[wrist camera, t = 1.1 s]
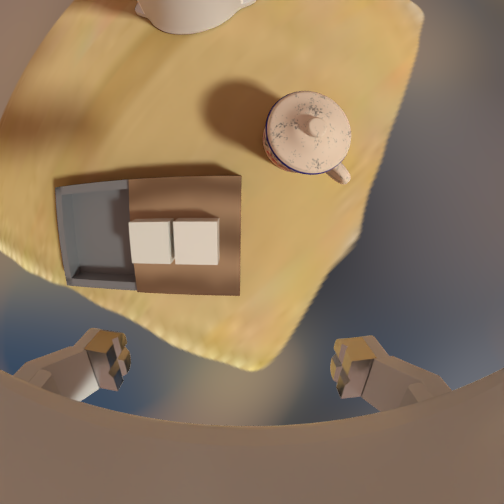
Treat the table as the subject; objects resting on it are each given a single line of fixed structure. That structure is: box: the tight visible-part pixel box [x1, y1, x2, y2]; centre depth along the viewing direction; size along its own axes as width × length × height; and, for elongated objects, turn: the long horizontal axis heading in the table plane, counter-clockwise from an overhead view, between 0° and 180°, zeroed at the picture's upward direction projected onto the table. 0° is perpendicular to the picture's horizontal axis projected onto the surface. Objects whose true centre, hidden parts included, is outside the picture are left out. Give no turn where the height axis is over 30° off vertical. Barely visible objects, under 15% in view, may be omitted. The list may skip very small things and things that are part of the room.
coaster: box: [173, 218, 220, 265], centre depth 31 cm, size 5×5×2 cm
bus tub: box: [55, 179, 137, 290], centre depth 34 cm, size 15×13×4 cm
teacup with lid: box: [263, 91, 351, 184], centre depth 28 cm, size 12×9×12 cm
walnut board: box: [129, 176, 241, 296], centre depth 34 cm, size 15×14×4 cm
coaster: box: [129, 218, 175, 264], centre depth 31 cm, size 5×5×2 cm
